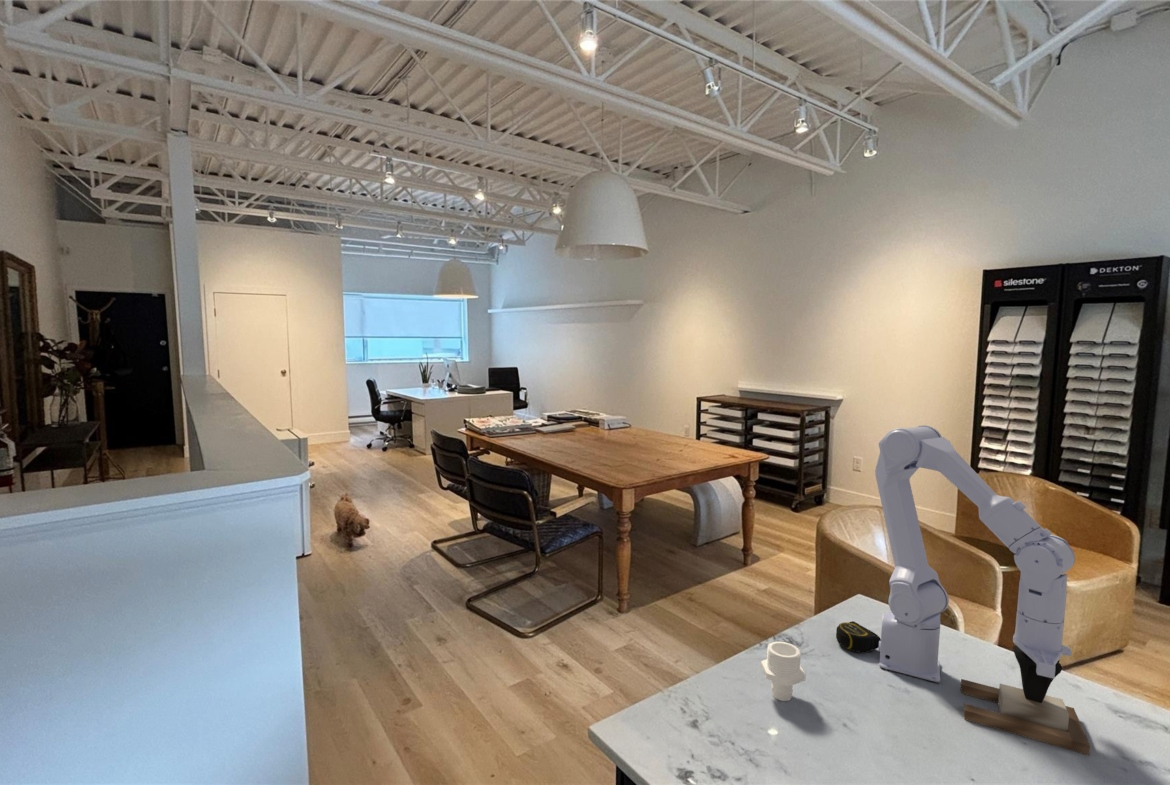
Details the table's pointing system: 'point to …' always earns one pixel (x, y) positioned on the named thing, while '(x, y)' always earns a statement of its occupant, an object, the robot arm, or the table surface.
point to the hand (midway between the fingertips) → (1033, 698)
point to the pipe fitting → (783, 669)
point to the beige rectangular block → (1033, 708)
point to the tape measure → (856, 637)
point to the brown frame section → (1023, 721)
